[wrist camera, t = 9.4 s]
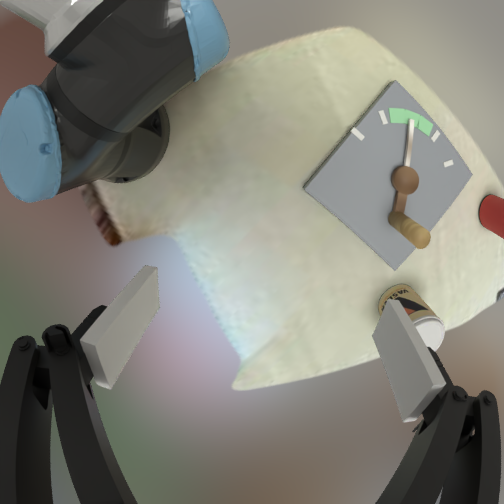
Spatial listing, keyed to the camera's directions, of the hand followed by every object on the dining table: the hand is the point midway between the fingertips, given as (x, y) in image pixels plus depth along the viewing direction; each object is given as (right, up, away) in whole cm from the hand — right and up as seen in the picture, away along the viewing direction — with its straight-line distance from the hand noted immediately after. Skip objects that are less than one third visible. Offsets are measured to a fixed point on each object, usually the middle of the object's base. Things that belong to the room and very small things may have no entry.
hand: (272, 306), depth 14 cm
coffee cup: (+25, -6, +30) cm, 40 cm away
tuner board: (+21, +14, +21) cm, 33 cm away
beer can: (+43, +11, +21) cm, 49 cm away
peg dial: (+21, +13, +19) cm, 31 cm away
